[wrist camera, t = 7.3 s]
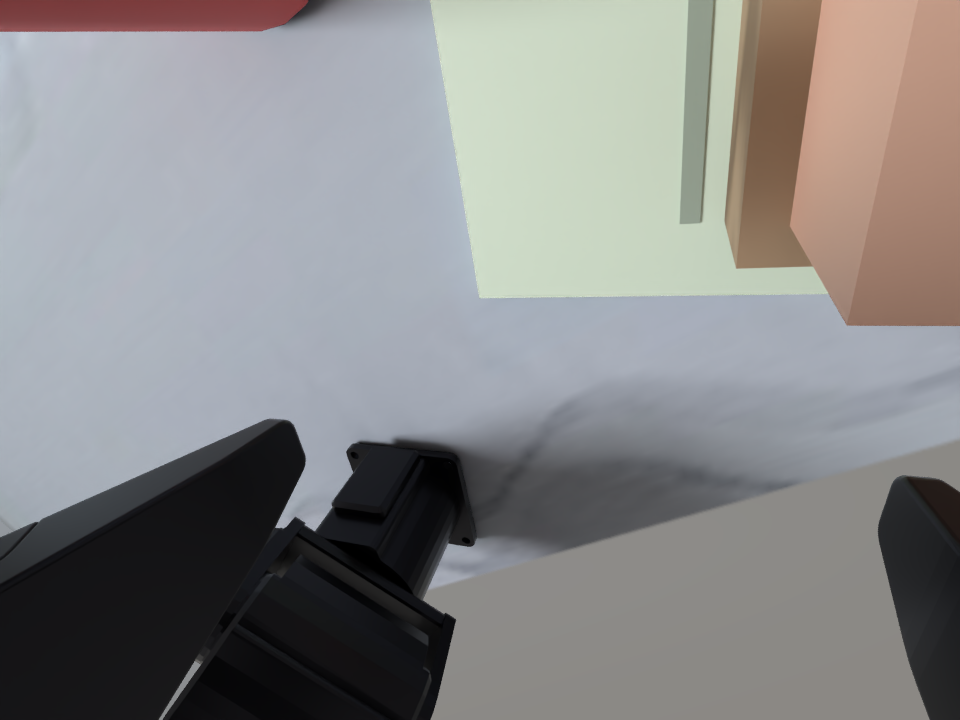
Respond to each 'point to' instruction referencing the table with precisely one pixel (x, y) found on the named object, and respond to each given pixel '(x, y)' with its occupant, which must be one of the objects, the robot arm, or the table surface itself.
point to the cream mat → (598, 146)
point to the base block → (769, 130)
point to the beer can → (145, 15)
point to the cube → (884, 161)
